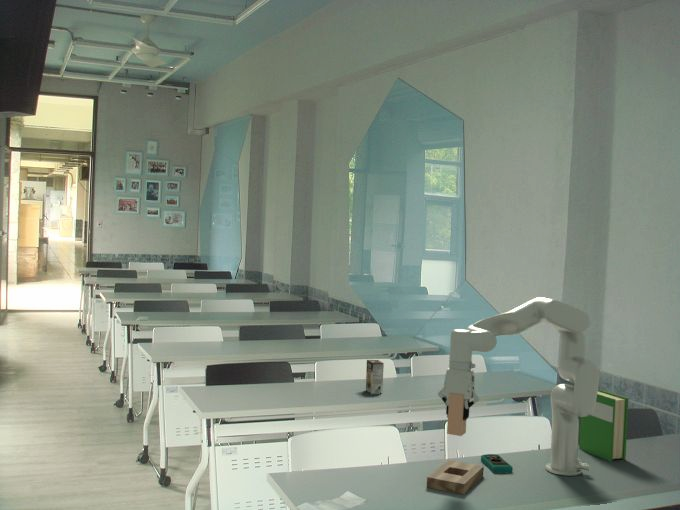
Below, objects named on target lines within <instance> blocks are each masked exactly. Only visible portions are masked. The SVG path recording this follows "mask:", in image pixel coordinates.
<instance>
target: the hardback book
mask: <svg viewBox="0 0 680 510" xmlns="http://www.w3.org/2000/svg"><path fill="white" fill-rule="evenodd" d="M629 399H630V398H629V397H625V396H623V395H619V394H615V393H612V392H609V391H605V390H604V389H599V388H598V392H597V399H596V404H595V408H594V410H593V412H592V413H591V414H590V415H589V416H586V417H580V419H579V440H578V450H582V451H585V452H587V453H589V454H592V455H594V456H595V457H599V458H600V459H604V460H606V461H608V462H609V463H610V462H613V460H615V459H620V460H622V461H626V457H627V437H628V419H629V418H628V417H629Z"/></svg>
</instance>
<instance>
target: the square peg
mask: <svg viewBox="0 0 680 510" xmlns="http://www.w3.org/2000/svg"><path fill="white" fill-rule="evenodd" d="M464 408H465V405H464V395H460V394H453V393H449V408H448V418H447V427H446V428H447V430H446V431H447V432H446V434H448V435H452V436H459V437H462V436H464V435H465V434H466V432H467V419H466V420H463V411H464Z"/></svg>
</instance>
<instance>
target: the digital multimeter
mask: <svg viewBox="0 0 680 510" xmlns="http://www.w3.org/2000/svg"><path fill="white" fill-rule="evenodd" d="M480 462H482V463H483V464H484V465H485V466H486V467H487V468H488V469H489V470H490V471H491V472H492V473H494V474H507V473H509V474H510V473H513V467H514V466H512V465H511V464H510V463H509V462H507V461H506V460H504V458H502V457H501V456H500V455H499V454H491V453H489V454H488V453H487V454H482V455H481V456H480Z"/></svg>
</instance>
